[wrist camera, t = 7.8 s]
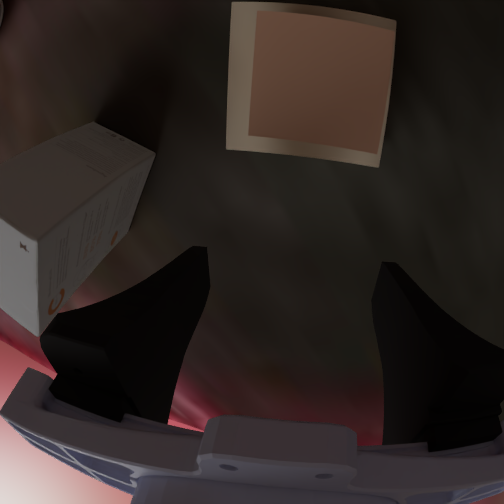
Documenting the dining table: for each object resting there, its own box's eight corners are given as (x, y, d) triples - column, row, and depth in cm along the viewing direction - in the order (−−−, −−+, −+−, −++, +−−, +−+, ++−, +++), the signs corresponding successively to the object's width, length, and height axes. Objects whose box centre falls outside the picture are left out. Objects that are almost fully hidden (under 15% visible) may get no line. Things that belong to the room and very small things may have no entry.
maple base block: (382, 28, 15) (396, 20, 12) (367, 153, 20) (378, 167, 17) (243, 12, 16) (231, 2, 13) (237, 137, 21) (226, 149, 18)
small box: (93, 119, 21) (-40, 182, 10) (158, 152, 22) (38, 242, 11) (73, 201, 25) (-27, 287, 14) (128, 233, 26) (40, 341, 15)
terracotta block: (364, 44, 13) (394, 31, 8) (354, 127, 16) (377, 154, 11) (272, 31, 14) (257, 10, 9) (265, 115, 17) (248, 135, 12)
